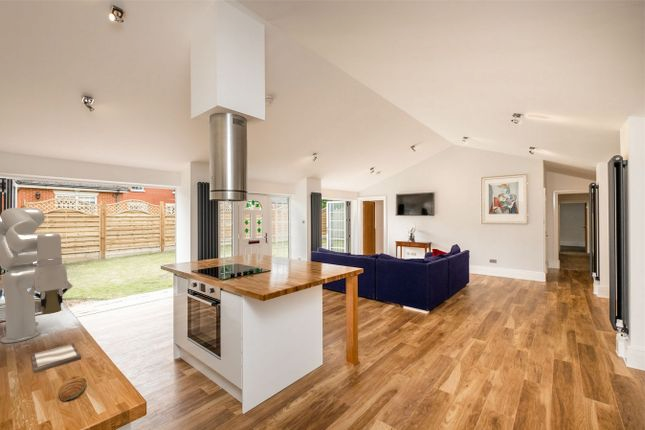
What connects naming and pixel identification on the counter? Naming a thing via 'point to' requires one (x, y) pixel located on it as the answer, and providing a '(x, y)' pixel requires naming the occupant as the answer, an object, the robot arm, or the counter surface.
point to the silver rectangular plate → (54, 357)
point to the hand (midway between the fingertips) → (52, 306)
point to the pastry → (72, 387)
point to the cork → (51, 302)
